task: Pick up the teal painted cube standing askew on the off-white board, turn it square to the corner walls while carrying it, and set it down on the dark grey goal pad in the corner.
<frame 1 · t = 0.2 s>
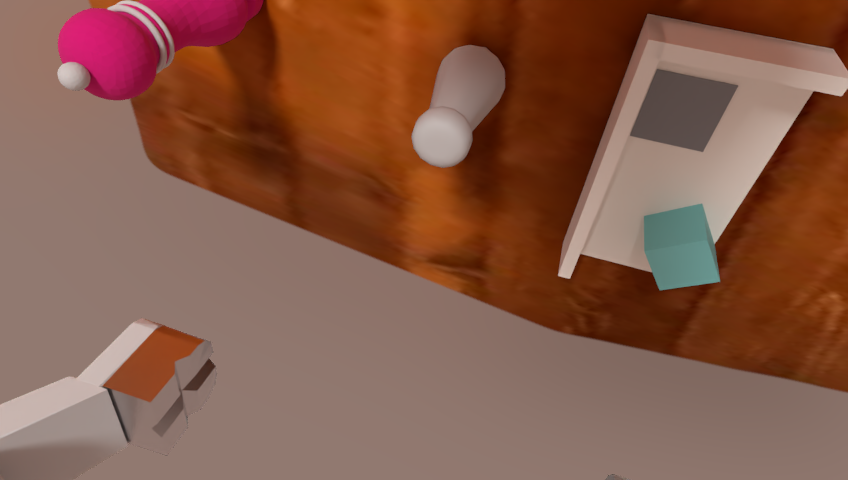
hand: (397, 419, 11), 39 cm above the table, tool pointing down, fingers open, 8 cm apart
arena: (671, 164, 47), on the table
cube: (679, 230, 50), point 1 cm above the table, touching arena
salt shaker: (477, 67, 47), on the table
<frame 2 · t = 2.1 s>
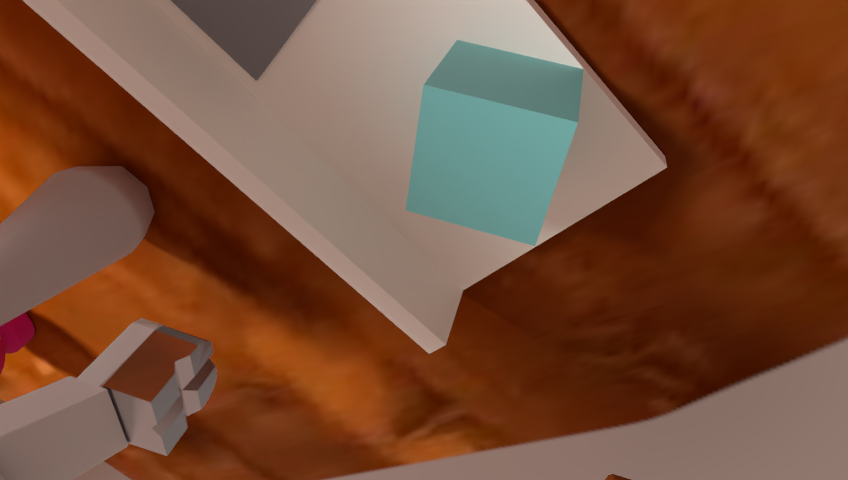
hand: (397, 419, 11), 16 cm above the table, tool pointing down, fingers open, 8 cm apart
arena: (364, 46, 23), on the table
cube: (504, 113, 22), point 1 cm above the table, touching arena
pepper mill: (4, 311, 46), on the table
salt shaker: (126, 191, 33), on the table
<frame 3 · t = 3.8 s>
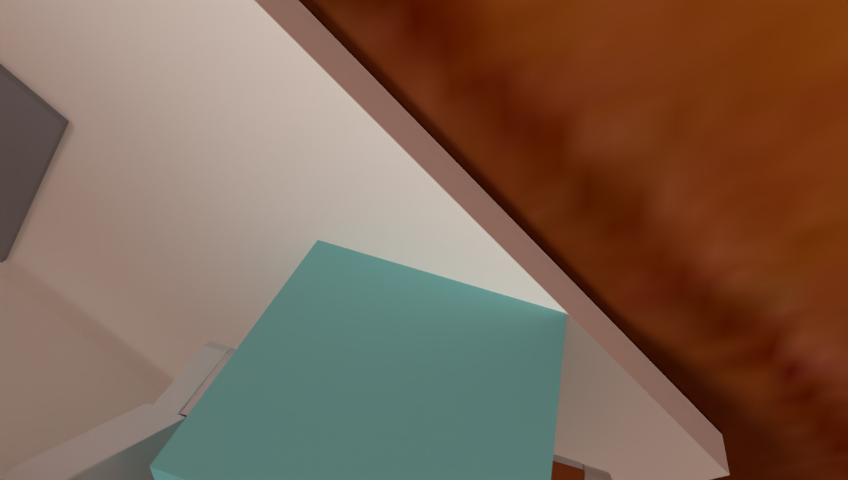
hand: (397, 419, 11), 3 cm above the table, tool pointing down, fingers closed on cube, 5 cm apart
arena: (174, 217, 13), on the table
cube: (420, 358, 12), point 1 cm above the table, touching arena, gripper
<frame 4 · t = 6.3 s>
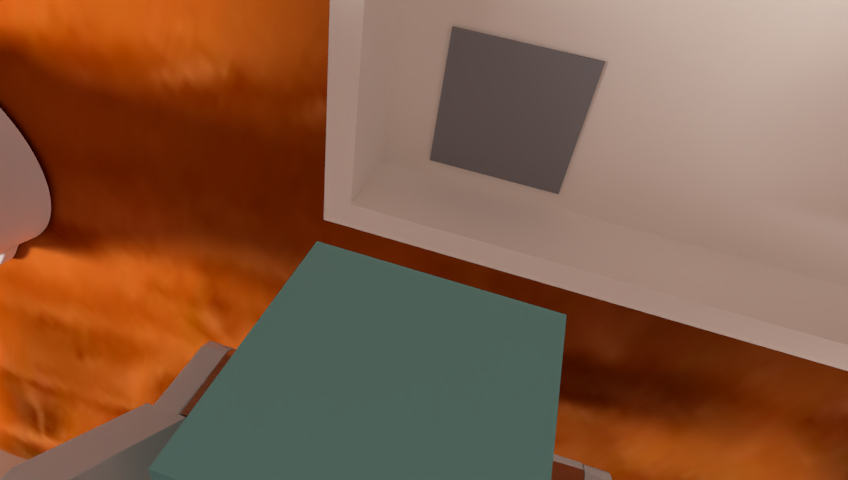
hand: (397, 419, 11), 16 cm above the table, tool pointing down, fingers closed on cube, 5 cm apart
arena: (654, 104, 22), on the table
cube: (420, 359, 12), point 15 cm above the table, touching gripper
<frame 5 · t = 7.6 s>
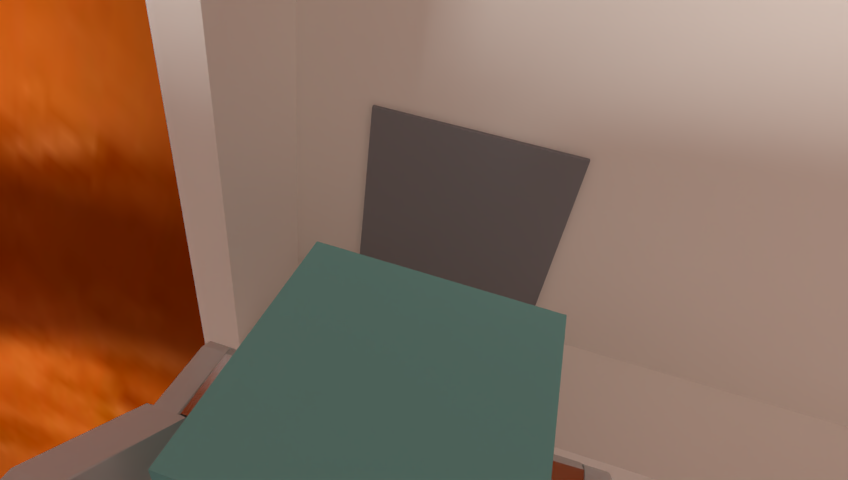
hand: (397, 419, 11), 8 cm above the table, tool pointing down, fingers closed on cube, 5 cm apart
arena: (659, 209, 15), on the table
cube: (420, 359, 12), point 7 cm above the table, touching gripper
when the fingers open (4 cm above the table, at t = 8.8 s): cube drops 2 cm, resting on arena.
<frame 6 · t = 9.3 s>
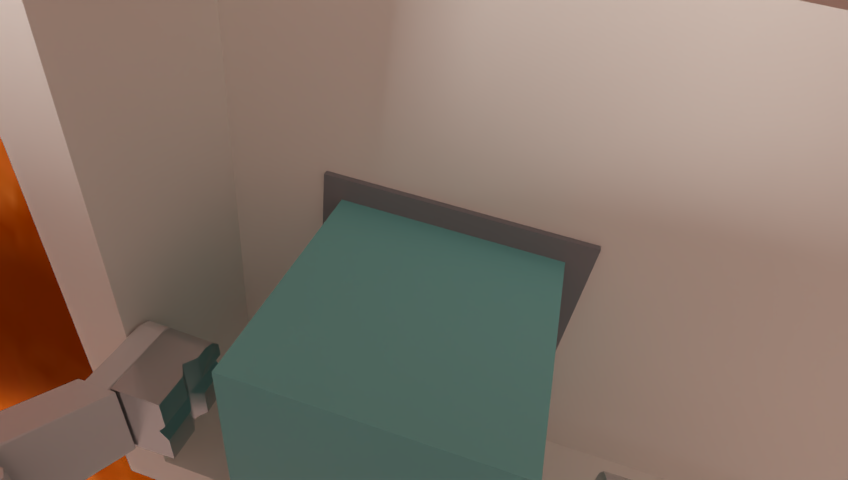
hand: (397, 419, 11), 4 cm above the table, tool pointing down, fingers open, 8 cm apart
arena: (687, 300, 12), on the table
cube: (433, 310, 13), point 1 cm above the table, touching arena
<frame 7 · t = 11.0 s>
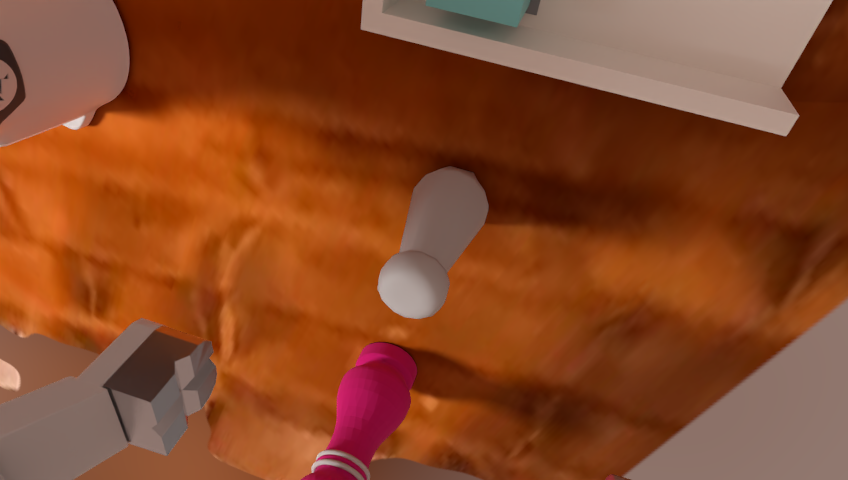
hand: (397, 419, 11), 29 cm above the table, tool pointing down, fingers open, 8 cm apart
pepper mill: (389, 361, 57), on the table
salt shaker: (457, 188, 42), on the table
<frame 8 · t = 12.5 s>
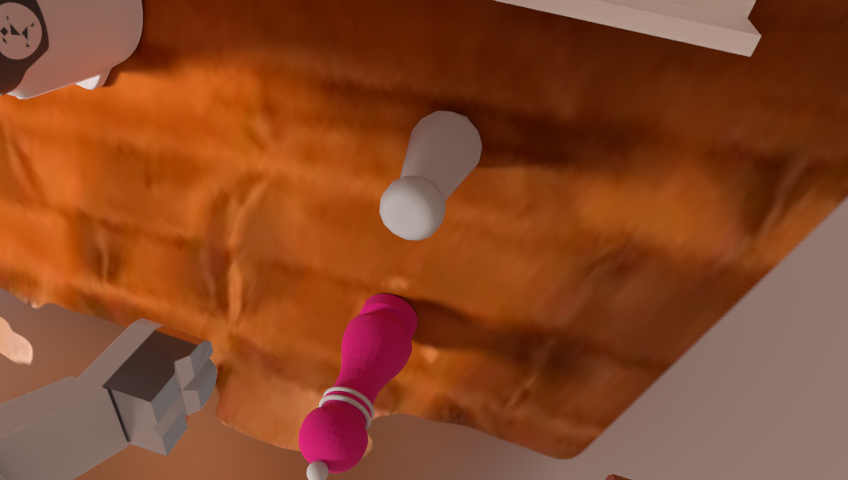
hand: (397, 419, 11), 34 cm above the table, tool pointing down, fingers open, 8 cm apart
pepper mill: (391, 313, 59), on the table
salt shaker: (453, 133, 45), on the table
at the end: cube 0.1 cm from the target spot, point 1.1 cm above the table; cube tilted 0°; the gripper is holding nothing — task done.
